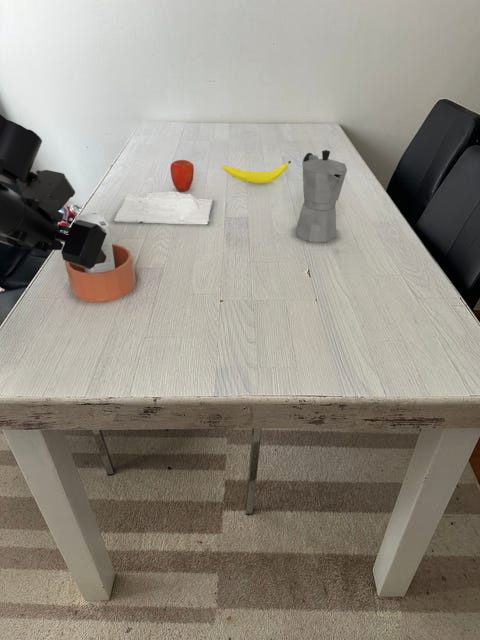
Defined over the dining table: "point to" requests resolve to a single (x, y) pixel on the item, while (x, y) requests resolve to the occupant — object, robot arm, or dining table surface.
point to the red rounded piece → (182, 174)
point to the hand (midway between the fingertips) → (82, 253)
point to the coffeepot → (320, 197)
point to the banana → (256, 174)
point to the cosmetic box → (107, 244)
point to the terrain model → (165, 209)
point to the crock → (104, 278)
